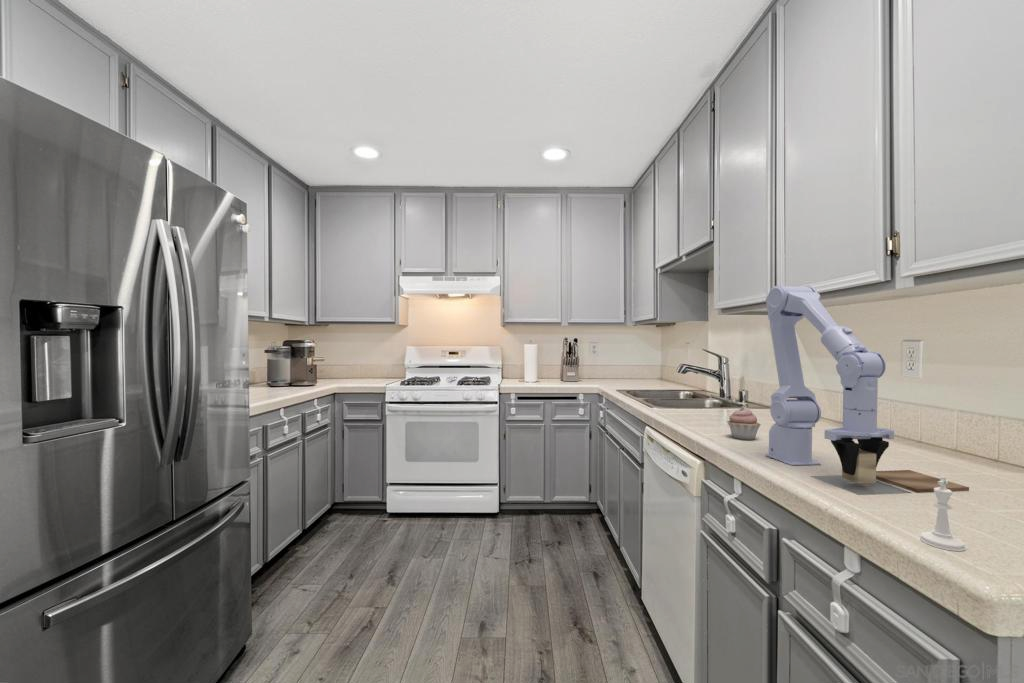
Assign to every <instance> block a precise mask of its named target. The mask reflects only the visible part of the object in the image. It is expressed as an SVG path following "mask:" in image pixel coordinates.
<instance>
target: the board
mask: <svg viewBox="0 0 1024 683" xmlns="http://www.w3.org/2000/svg"><path fill="white" fill-rule="evenodd" d="M876 481H879V482H882V483H885V484H888V485H891V486H894V487H897V488H900V489H903V490H906V491H909V492H912V493H916V494H922V493H925V494H926V493H935V492H934V488H937V487H940V485H939V484H938V481H940V477H939V478H938V477H935V476H933V475H928V474H926V473H921V472H918V471H914V470H911V469H904V470H903V469H900V470H898V469H897V470H876ZM947 481H948V484H946V488H947V489H949V490H951V491H952V493H953V492H969V491H970V487H969V486H966V485H963V484H959V483H956V482H952V481H949V480H947Z"/></svg>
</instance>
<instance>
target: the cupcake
mask: <svg viewBox="0 0 1024 683" xmlns="http://www.w3.org/2000/svg"><path fill="white" fill-rule="evenodd" d="M726 422H727V424H728V426H729V429H730V432H731V433H730V434H731V437H732V438H733V439H736V440H737V439H738V440H742V441H753V440H755V439H756V437H757V433H758V431H759V428H760V427H761V424H760V423H759V422H758V418H757V416H756V415H755V413H753V411H752V410H751V409H750V408H749V407H746V406H744V405H742V406H741V407H740V409H738V410H735V411H733V412H732V414H731V415H730V416H729V420H726Z"/></svg>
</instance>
